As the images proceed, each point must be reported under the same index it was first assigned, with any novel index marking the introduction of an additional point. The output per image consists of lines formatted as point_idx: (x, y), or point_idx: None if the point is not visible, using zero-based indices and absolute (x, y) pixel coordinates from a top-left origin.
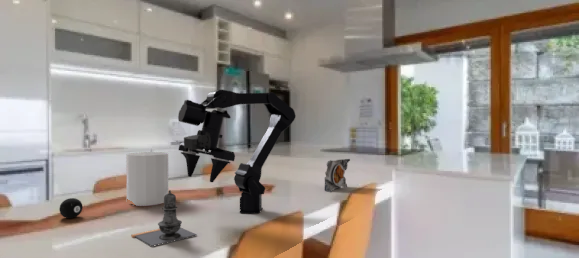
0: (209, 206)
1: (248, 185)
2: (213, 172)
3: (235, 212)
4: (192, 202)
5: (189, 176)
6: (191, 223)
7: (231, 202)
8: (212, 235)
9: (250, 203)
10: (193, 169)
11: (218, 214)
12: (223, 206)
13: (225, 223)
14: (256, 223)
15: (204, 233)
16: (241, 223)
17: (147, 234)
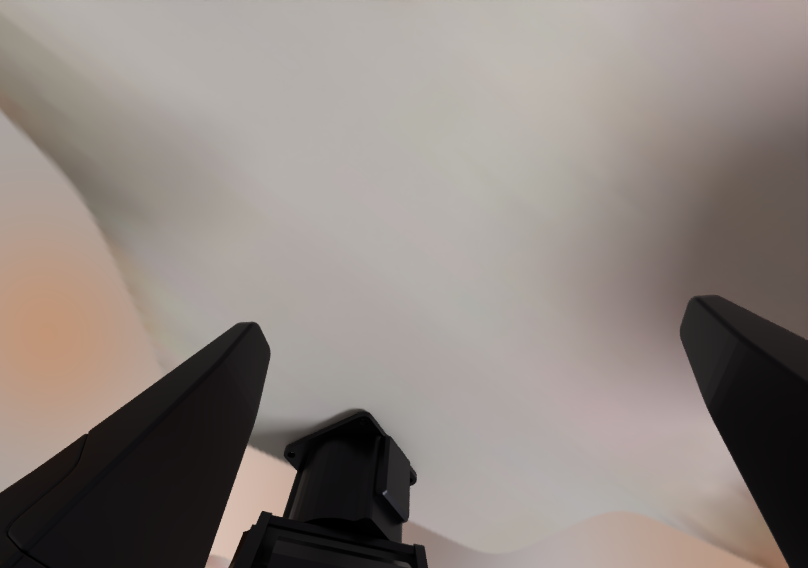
0: (614, 408)
1: (236, 566)
2: (110, 419)
3: (397, 407)
4: None
5: (687, 305)
6: (406, 108)
7: (569, 512)
8: (90, 27)
9: (310, 476)
10: (744, 449)
11: (438, 334)
12: (544, 446)
13: (257, 242)
14: (151, 338)
15: (157, 19)
16: (200, 294)
17: None
